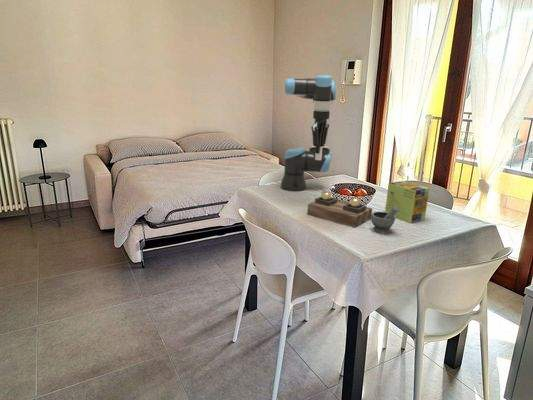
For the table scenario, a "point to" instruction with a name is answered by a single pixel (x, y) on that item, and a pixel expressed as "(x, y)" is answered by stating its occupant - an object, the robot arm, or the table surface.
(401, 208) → the protein box
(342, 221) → the mount
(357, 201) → the knob
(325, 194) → the knob
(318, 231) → the table surface
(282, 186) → the robot arm
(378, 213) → the mortar and pestle
